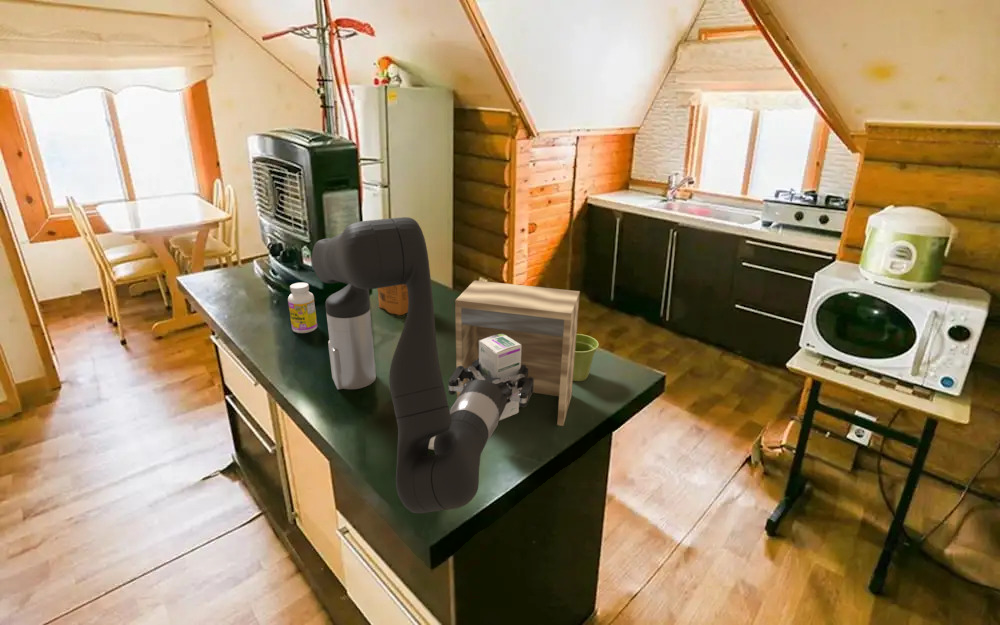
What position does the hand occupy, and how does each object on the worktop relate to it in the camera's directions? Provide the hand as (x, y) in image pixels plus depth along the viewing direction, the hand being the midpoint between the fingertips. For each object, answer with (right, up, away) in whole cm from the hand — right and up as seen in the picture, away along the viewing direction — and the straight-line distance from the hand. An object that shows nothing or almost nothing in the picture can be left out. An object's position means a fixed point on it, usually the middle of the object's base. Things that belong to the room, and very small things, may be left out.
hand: (502, 365), depth 99 cm
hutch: (+3, -9, +16) cm, 19 cm away
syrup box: (-1, -9, +2) cm, 9 cm away
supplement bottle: (-54, +5, +49) cm, 74 cm away
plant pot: (+17, -5, +28) cm, 33 cm away
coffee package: (-31, +11, +65) cm, 72 cm away
